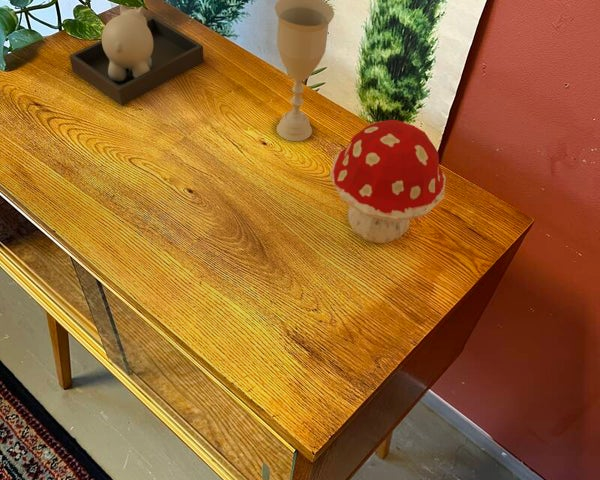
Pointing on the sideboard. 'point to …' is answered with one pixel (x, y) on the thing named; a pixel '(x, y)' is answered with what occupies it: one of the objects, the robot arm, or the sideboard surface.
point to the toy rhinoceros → (128, 44)
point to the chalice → (300, 54)
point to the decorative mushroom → (388, 179)
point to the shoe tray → (165, 65)
